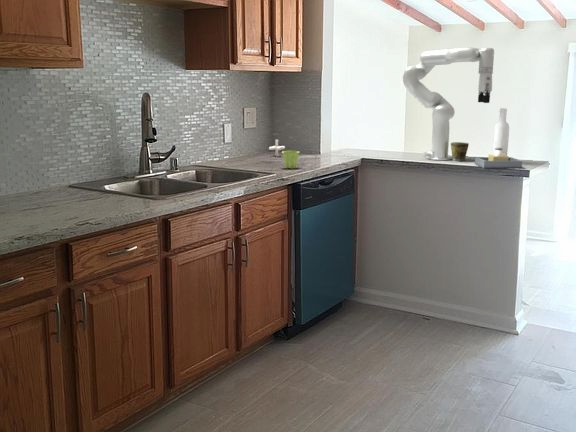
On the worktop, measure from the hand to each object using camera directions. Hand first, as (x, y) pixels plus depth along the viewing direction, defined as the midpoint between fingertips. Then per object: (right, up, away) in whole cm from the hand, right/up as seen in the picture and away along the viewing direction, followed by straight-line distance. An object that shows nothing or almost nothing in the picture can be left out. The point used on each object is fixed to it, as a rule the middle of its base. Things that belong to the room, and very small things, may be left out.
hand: (483, 102), depth 347 cm
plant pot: (-108, -38, -16) cm, 115 cm away
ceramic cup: (-11, -32, +12) cm, 36 cm away
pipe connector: (-116, -27, +33) cm, 124 cm away
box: (+4, -37, -11) cm, 39 cm away
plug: (+4, -36, -11) cm, 38 cm away
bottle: (+11, -33, +6) cm, 35 cm away
